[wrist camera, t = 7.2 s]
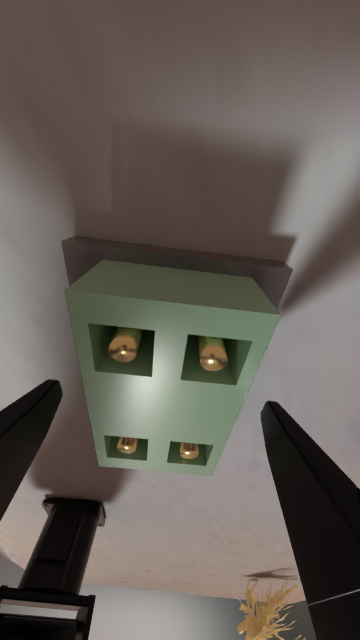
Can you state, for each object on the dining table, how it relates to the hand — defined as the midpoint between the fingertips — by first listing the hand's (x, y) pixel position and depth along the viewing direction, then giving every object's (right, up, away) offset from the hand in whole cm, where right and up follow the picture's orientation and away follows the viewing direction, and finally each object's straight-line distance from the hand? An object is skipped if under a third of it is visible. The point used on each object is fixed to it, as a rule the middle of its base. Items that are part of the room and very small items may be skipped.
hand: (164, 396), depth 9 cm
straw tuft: (+18, -51, +35) cm, 64 cm away
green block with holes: (0, +1, +2) cm, 2 cm away
